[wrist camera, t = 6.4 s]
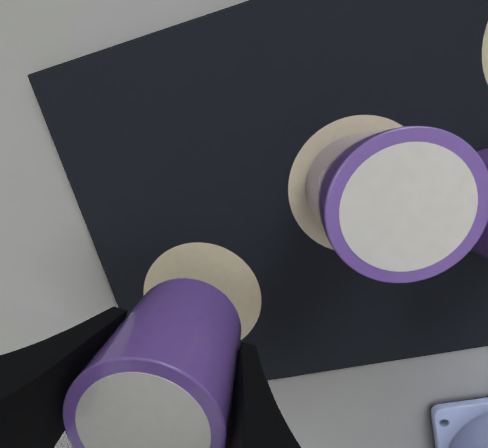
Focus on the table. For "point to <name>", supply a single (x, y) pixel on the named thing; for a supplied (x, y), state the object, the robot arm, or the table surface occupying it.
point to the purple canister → (160, 374)
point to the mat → (271, 165)
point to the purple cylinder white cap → (484, 245)
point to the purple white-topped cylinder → (399, 201)
